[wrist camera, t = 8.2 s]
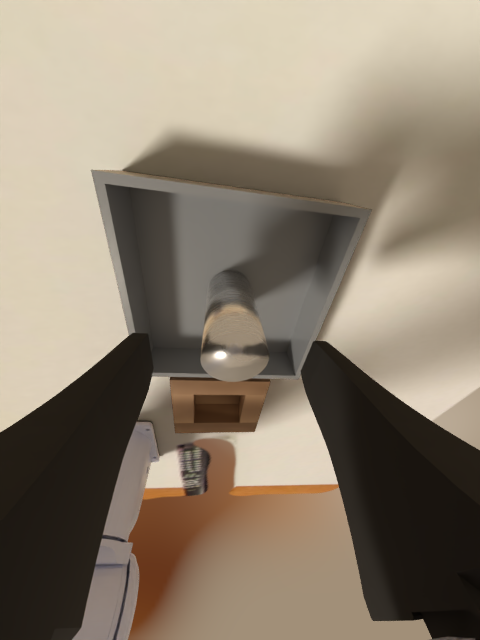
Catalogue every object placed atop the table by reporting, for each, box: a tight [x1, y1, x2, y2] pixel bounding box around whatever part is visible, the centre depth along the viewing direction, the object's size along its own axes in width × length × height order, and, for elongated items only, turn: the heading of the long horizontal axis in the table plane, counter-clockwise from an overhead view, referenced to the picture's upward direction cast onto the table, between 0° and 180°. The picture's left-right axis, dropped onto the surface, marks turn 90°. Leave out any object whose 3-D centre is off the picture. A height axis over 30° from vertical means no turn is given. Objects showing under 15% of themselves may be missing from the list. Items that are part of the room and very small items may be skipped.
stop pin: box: [200, 270, 269, 382], centre depth 12 cm, size 3×3×6 cm
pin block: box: [170, 377, 270, 433], centre depth 20 cm, size 8×8×2 cm
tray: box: [91, 170, 372, 379], centre depth 13 cm, size 12×12×3 cm
